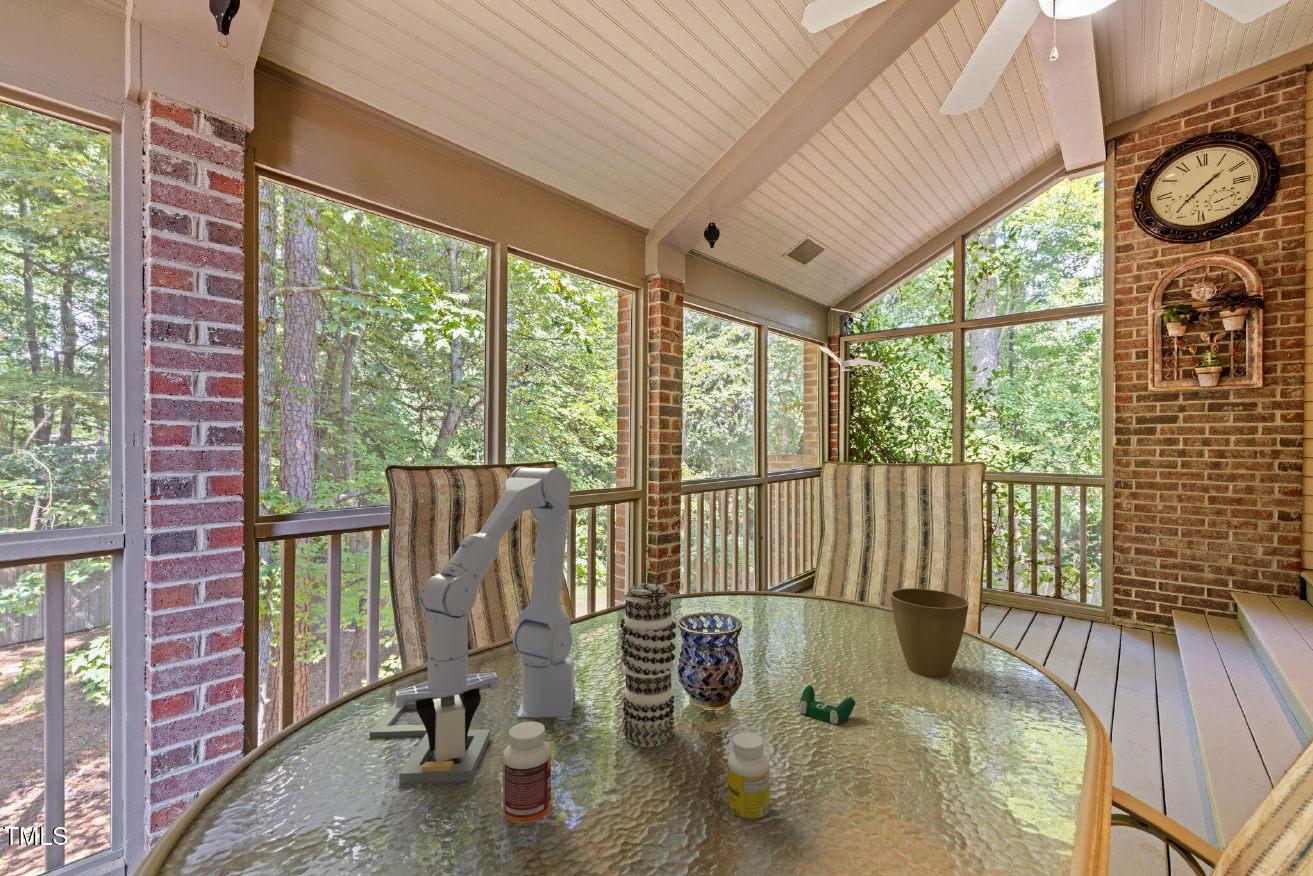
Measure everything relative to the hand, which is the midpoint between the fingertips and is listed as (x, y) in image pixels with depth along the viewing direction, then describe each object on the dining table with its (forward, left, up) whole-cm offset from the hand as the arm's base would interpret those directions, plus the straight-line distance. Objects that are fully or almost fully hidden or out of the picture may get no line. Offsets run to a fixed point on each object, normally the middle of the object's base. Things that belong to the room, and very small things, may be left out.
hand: (448, 743), depth 88 cm
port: (0, 0, -3) cm, 3 cm away
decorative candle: (-31, -5, -3) cm, 31 cm away
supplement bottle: (-43, +15, -3) cm, 46 cm away
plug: (0, 0, -1) cm, 1 cm away
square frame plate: (+10, -14, -3) cm, 17 cm away
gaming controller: (-65, -13, -1) cm, 66 cm away
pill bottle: (-14, +13, -3) cm, 19 cm away
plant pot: (-91, -28, -3) cm, 95 cm away
